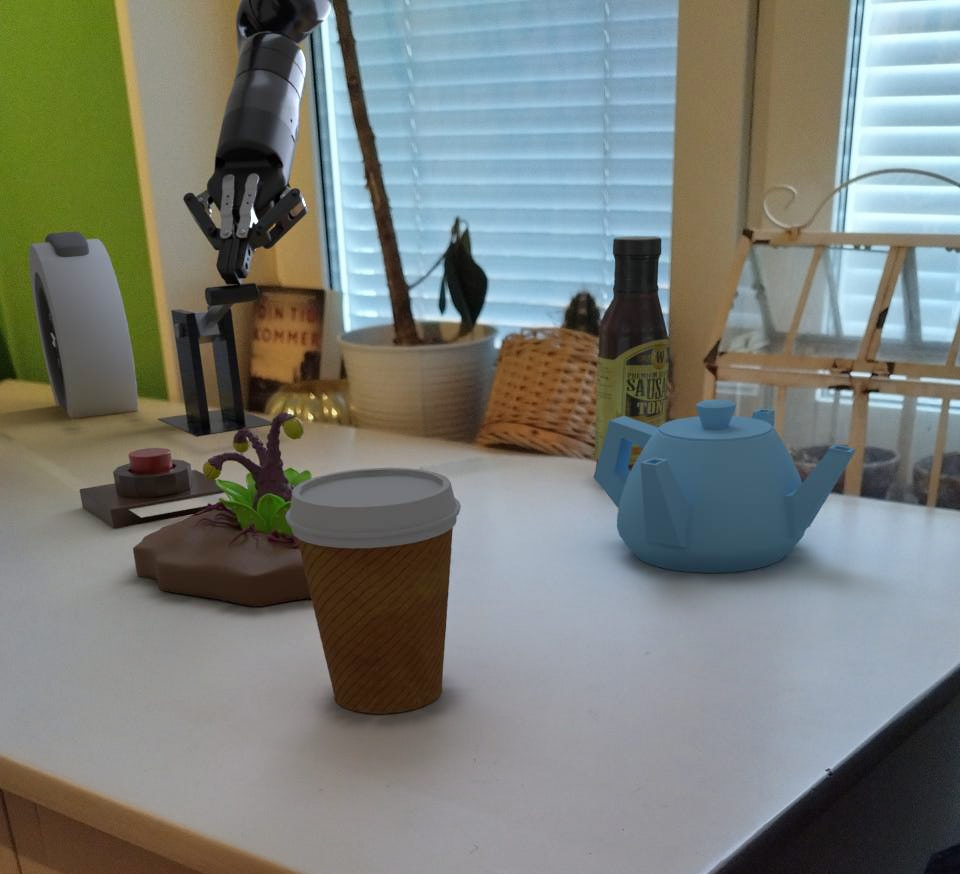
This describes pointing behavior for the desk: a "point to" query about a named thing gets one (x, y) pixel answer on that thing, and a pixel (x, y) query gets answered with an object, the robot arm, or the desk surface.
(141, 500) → the button block
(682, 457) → the teapot
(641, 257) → the sauce bottle
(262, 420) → the black upright frame
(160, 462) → the button
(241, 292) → the lever
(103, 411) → the alarm clock
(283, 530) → the plant
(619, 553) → the desk surface
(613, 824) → the desk surface
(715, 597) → the desk surface
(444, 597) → the disposable coffee cup
